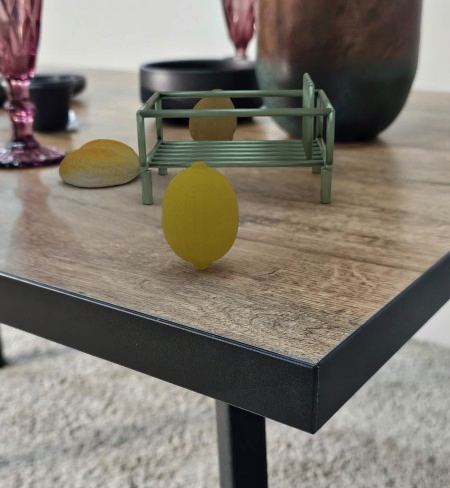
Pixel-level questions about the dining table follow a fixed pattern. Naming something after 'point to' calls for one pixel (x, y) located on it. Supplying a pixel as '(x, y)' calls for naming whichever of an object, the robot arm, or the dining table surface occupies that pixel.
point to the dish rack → (241, 151)
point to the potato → (213, 121)
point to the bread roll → (100, 164)
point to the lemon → (200, 215)
